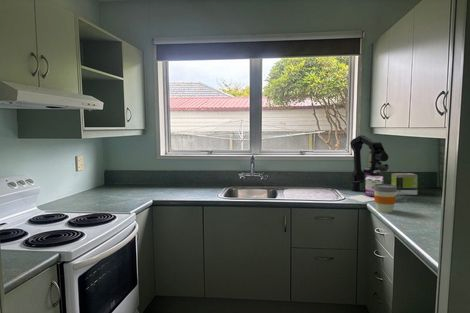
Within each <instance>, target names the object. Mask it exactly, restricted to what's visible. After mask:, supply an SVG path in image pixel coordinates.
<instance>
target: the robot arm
mask: <svg viewBox="0 0 470 313" xmlns="http://www.w3.org/2000/svg"><path fill="white" fill-rule="evenodd" d="M364 144H365V145H366V146H367V147H368V149H369V150H371V151H369V154H370V161H369V163H370V166H369V167H365V168H363V170H362V163H361V162H362V161H361V157H362V156H361V150H362V149H363V145H364ZM349 145H350V148H351V150H352V151H353V152H352V153H353V166H354V170H353V171H352V176H351V177H350V179H349V183H350V184H351V183H352V184H351V189H350V191H352V192H362V191H363V189H362V184H364V183H365V182H364V181H365V178H366V175H365V173H367V174H369V175H373V176H380V174H383V173H385V172H387V171H388V170H389V164H388V163H385V164H383V163H382V162H387V161H388V160H389V154H388V153H387V151H385V148H384V146H383V143H382V142H381V141H376V140H372V139H371V138H369V137H367V136H366V135H358V136H357V137H355V138H353V139H351V141H350V144H349ZM382 172H383V173H382Z"/></svg>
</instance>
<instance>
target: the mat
mask: <svg viewBox="0 0 470 313" xmlns="http://www.w3.org/2000/svg"><path fill="white" fill-rule="evenodd" d="M344 199H348V200H351V201H356V202H360V203H370V202H375V199H374V197H370V196H366V195H363V194H358V195H357V194H356V195H351V196H346V197H344Z"/></svg>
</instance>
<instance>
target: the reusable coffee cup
mask: <svg viewBox="0 0 470 313" xmlns="http://www.w3.org/2000/svg"><path fill="white" fill-rule="evenodd" d="M374 192H375V194H374V197H373V198H374V199H375V201H374V202H375V210H376V211H377V212H379V213H386V214H387V213H389V212H390V213H393V212H394V208H395V207H394V206H395V204H396V200H397V195H396V192H397V186H395V185H391V184H387V183H383V184H375V185H374ZM390 213H389V214H390Z"/></svg>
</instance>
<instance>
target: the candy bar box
mask: <svg viewBox="0 0 470 313" xmlns="http://www.w3.org/2000/svg"><path fill="white" fill-rule="evenodd" d="M364 181H365V182H364V185H365V189H364V190H365V195H364V196H368V197H373V198H374V194H375V192H374V185H375V184H384V176H382V175H378V176H373V175H370V174H365V178H364Z"/></svg>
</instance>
